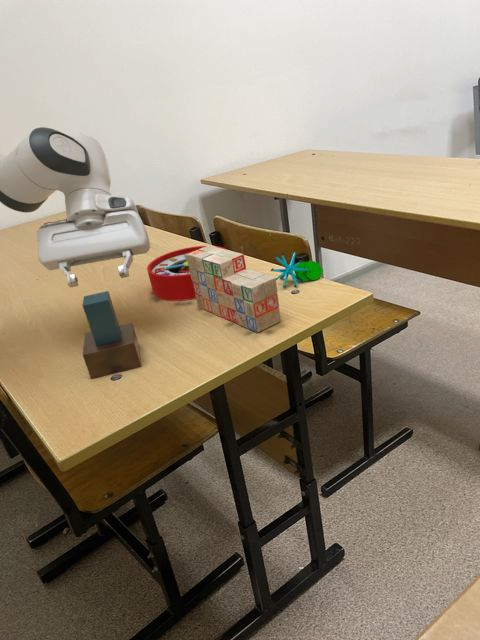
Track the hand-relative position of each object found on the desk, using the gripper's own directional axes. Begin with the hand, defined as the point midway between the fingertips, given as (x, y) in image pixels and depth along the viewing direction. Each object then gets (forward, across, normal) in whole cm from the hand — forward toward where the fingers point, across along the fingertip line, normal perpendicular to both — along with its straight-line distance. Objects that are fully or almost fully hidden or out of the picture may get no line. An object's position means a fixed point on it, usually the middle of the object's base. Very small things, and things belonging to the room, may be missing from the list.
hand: (98, 280), depth 97 cm
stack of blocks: (+6, +24, +14) cm, 28 cm away
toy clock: (-9, +15, +29) cm, 34 cm away
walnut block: (+14, 0, +6) cm, 15 cm away
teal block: (+10, 0, +2) cm, 11 cm away
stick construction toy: (-2, +38, +22) cm, 44 cm away
